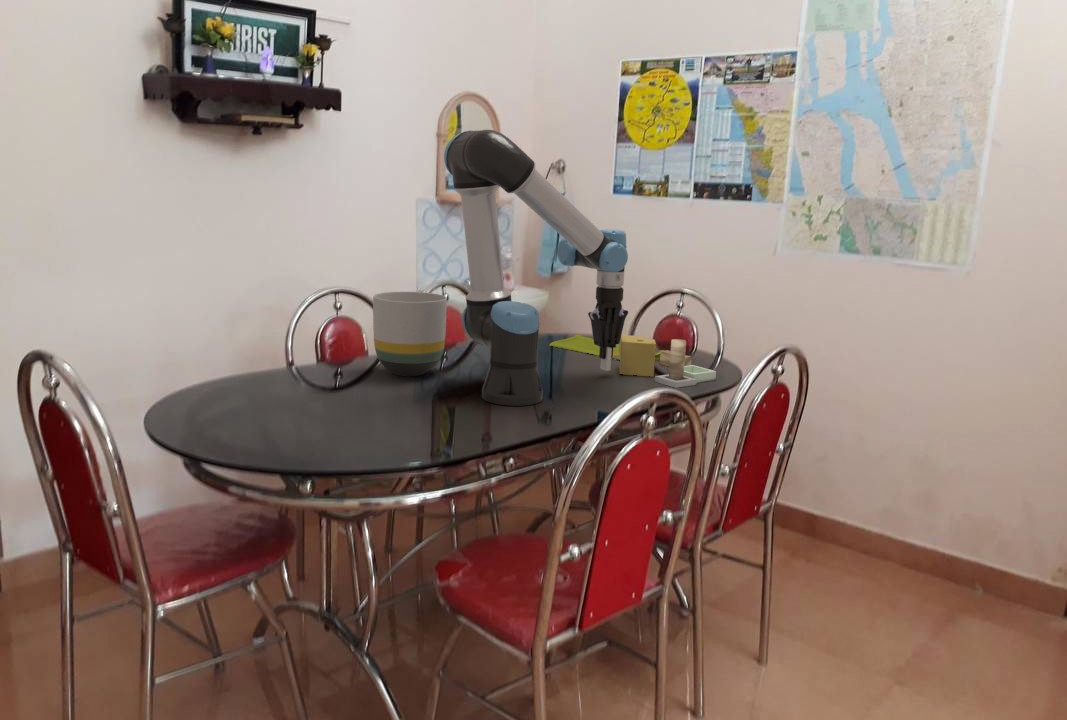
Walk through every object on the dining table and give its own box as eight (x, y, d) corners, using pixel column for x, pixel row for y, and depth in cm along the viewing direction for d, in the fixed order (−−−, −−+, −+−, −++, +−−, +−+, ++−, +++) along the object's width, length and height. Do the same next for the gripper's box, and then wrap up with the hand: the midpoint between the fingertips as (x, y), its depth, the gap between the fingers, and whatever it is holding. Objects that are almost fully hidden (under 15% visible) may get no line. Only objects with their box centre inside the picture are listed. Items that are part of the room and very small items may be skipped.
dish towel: (638, 367, 252) (639, 356, 252) (548, 347, 275) (548, 338, 274) (666, 360, 264) (666, 350, 263) (576, 342, 286) (577, 333, 286)
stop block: (683, 370, 247) (684, 357, 246) (659, 364, 255) (660, 351, 254) (690, 369, 249) (691, 356, 248) (666, 363, 257) (667, 350, 256)
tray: (693, 383, 232) (694, 374, 231) (670, 376, 239) (670, 367, 239) (715, 379, 237) (716, 371, 237) (692, 373, 244) (692, 364, 244)
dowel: (675, 385, 229) (679, 342, 226) (665, 382, 232) (668, 339, 229) (685, 383, 231) (689, 341, 228) (675, 380, 234) (678, 338, 232)
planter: (423, 363, 242) (424, 290, 237) (458, 378, 226) (460, 299, 222) (360, 370, 230) (360, 293, 226) (393, 385, 215) (394, 303, 210)
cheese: (653, 369, 247) (655, 336, 245) (654, 377, 237) (657, 343, 235) (617, 367, 248) (619, 334, 246) (617, 375, 238) (619, 341, 236)
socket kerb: (675, 387, 226) (675, 382, 226) (654, 381, 232) (655, 376, 232) (696, 384, 231) (696, 379, 230) (675, 378, 237) (675, 373, 236)
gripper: (600, 289, 223) (596, 375, 229) (636, 286, 231) (631, 370, 236) (582, 285, 229) (578, 369, 234) (618, 283, 237) (613, 364, 242)
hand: (605, 369), depth 235 cm, fingers closed
